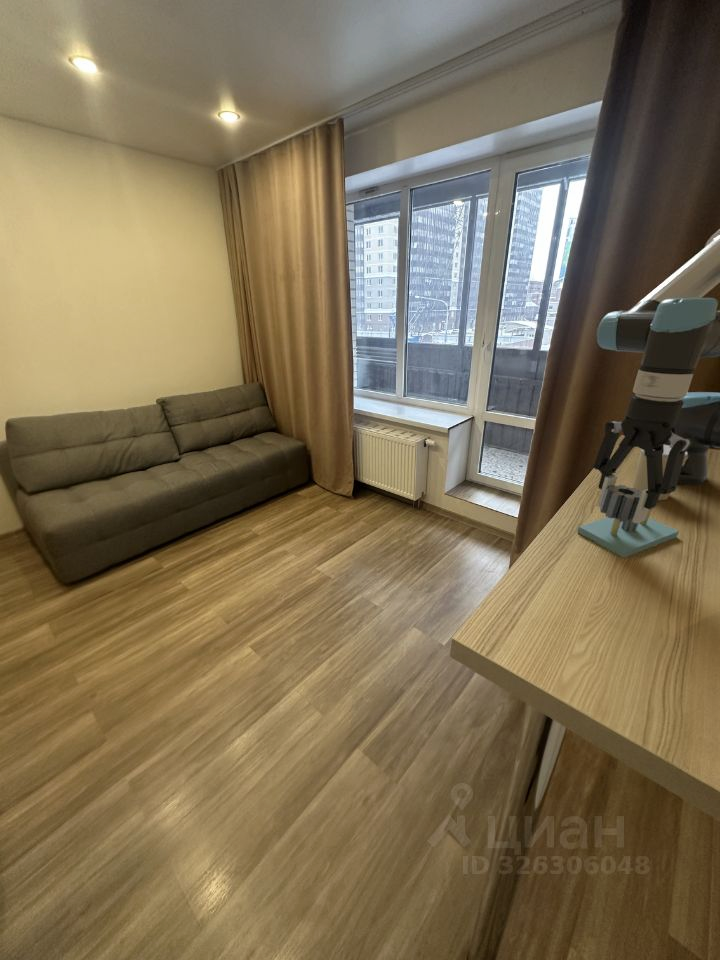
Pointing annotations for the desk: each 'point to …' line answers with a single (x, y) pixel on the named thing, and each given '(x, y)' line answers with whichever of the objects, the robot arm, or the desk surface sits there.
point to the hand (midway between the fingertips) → (620, 512)
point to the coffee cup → (641, 471)
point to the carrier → (627, 534)
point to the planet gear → (620, 502)
